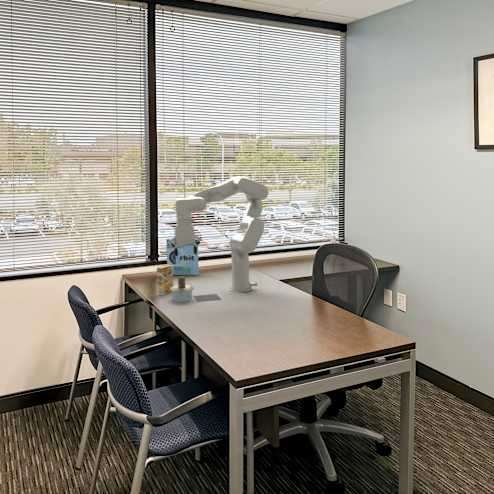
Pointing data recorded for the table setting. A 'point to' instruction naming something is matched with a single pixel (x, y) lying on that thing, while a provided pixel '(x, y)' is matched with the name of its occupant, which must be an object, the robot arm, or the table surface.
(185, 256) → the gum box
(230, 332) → the table surface
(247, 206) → the robot arm
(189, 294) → the ceramic bowl
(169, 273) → the candy box
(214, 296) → the rubber mat
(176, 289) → the brass cover
